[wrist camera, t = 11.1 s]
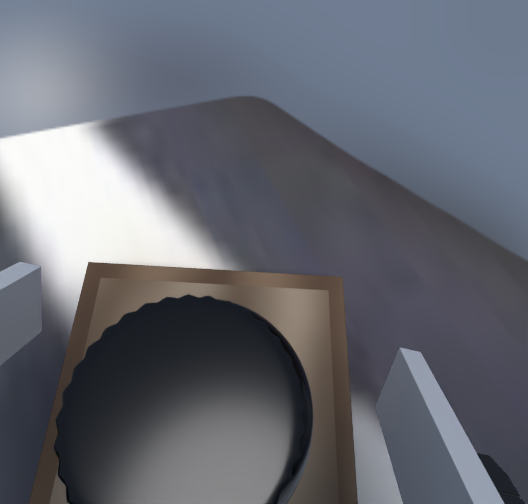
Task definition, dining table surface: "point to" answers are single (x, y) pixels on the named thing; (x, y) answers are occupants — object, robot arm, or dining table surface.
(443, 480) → the robot arm
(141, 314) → the supplement bottle
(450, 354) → the dining table surface
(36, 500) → the pedestal
